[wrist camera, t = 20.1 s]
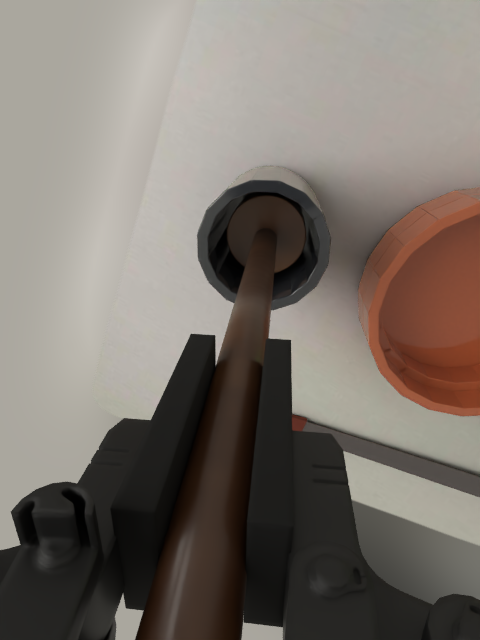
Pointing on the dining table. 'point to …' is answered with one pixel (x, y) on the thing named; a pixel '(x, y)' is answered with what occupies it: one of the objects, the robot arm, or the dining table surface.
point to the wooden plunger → (224, 445)
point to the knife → (397, 458)
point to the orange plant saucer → (428, 304)
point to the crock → (229, 271)
